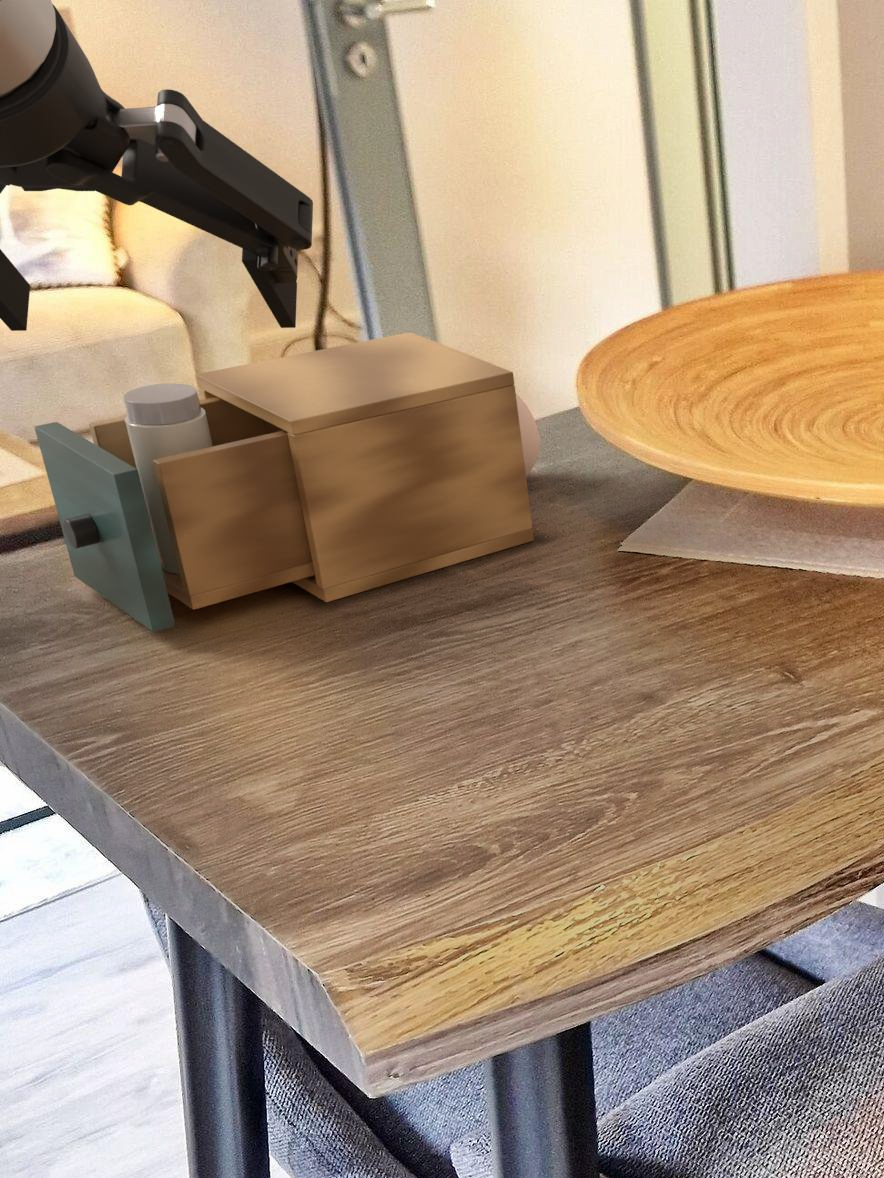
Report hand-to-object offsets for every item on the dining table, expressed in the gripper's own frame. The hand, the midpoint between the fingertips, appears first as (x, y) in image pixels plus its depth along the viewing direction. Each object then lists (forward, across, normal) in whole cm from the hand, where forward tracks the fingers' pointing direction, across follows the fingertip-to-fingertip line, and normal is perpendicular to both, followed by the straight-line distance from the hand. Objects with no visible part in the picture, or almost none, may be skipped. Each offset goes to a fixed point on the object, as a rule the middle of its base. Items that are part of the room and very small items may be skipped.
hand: (156, 307), depth 91 cm
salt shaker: (+8, 0, -11) cm, 14 cm away
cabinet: (+14, +9, -8) cm, 18 cm away
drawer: (+9, 0, -12) cm, 15 cm away
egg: (+22, +15, -1) cm, 26 cm away
